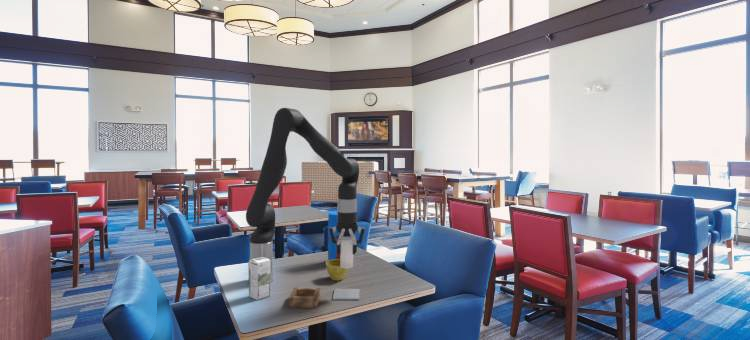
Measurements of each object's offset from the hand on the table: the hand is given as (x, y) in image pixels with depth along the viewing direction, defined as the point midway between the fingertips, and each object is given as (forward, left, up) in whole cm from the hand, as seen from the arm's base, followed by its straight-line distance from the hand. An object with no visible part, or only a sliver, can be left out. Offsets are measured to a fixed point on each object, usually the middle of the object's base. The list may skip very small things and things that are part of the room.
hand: (346, 253), depth 146 cm
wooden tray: (-15, -7, -16) cm, 23 cm away
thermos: (-6, +43, -16) cm, 46 cm away
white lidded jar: (0, 0, -5) cm, 5 cm away
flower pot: (-5, +19, -16) cm, 26 cm away
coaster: (0, 0, -16) cm, 16 cm away
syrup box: (-33, -2, -16) cm, 37 cm away
